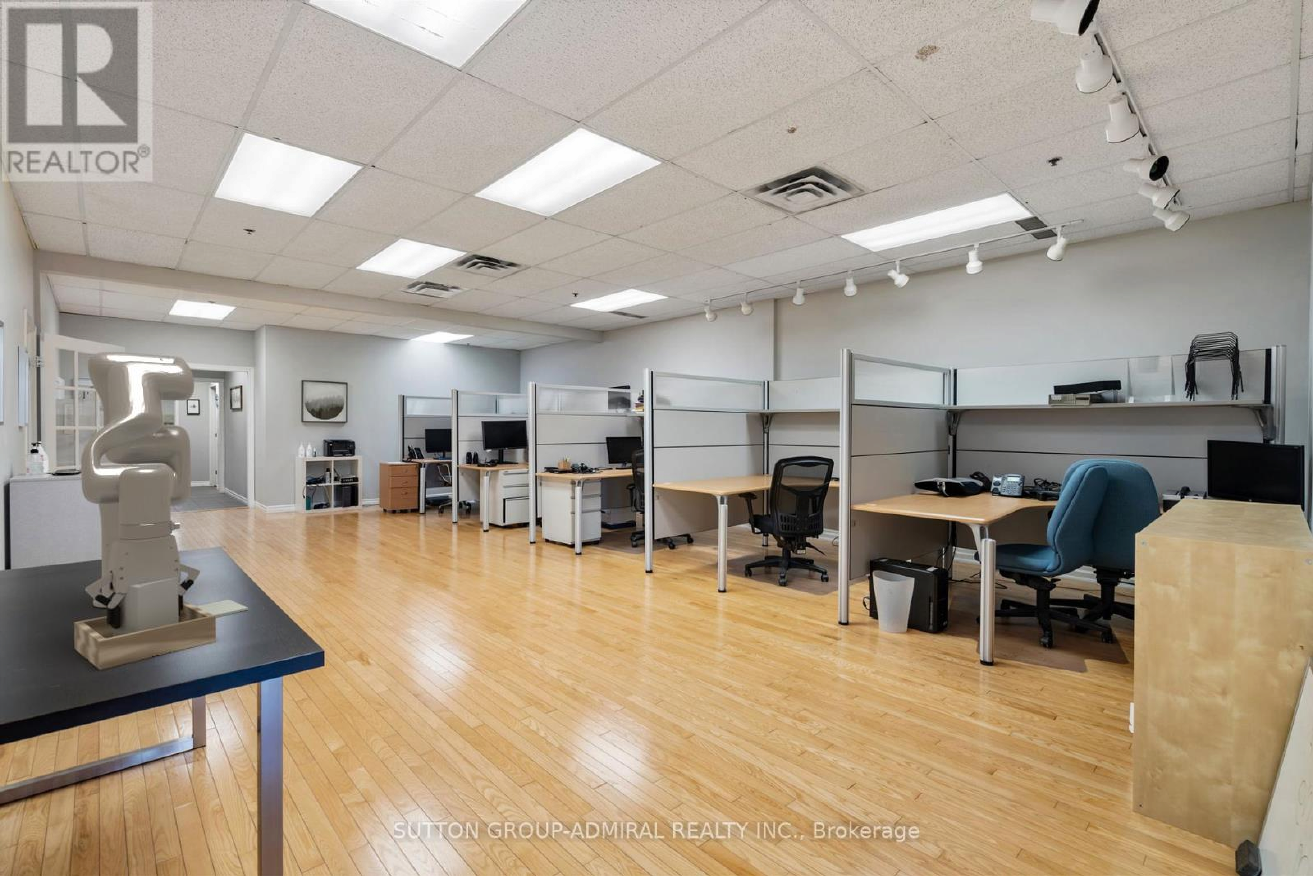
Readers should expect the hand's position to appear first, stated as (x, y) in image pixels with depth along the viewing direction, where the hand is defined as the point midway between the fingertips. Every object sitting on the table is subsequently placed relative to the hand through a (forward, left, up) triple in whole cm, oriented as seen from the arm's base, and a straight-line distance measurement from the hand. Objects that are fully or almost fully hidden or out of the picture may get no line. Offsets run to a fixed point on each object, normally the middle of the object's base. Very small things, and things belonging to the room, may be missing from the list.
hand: (146, 620), depth 114 cm
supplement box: (0, 0, -5) cm, 5 cm away
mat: (-14, +15, -5) cm, 21 cm away
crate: (0, 0, -5) cm, 5 cm away
